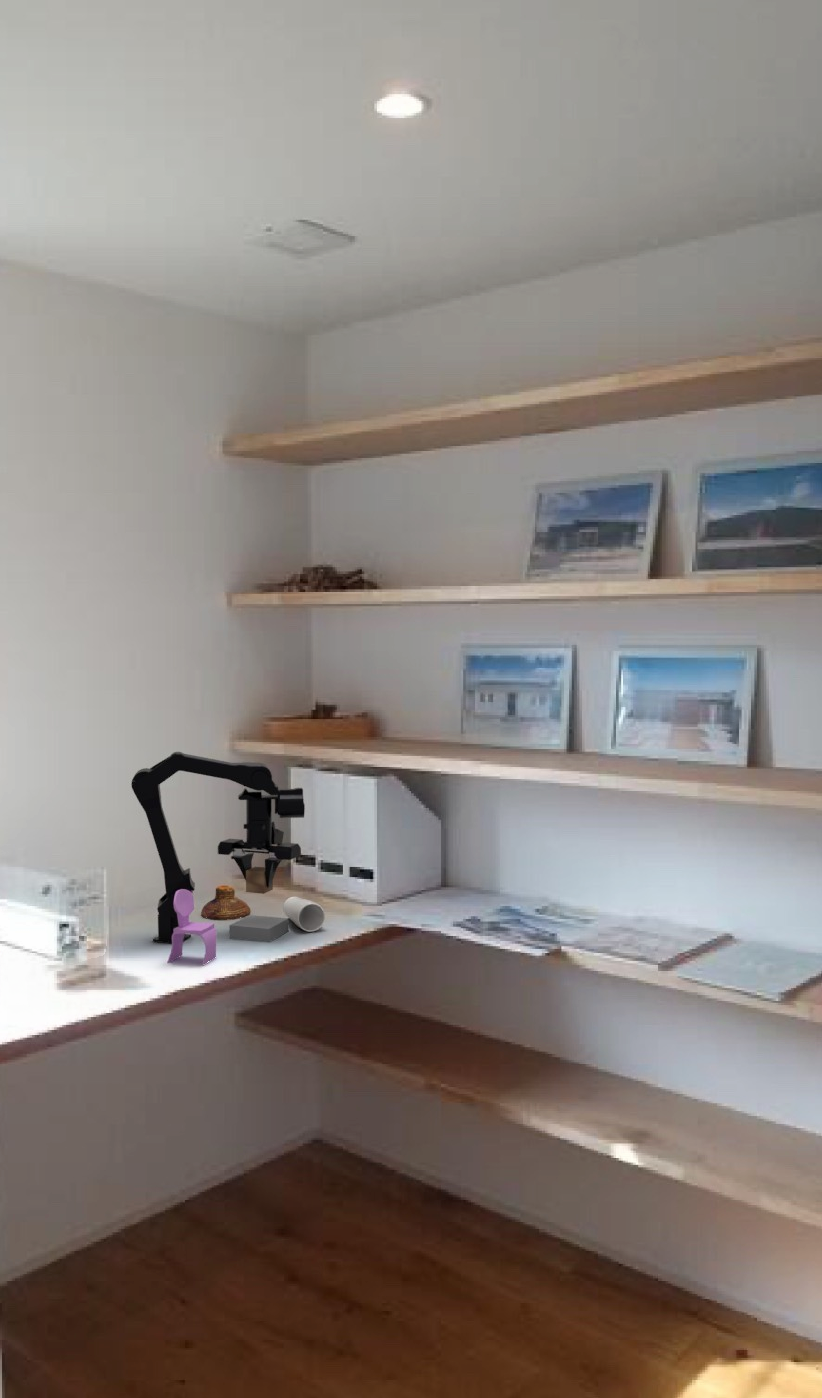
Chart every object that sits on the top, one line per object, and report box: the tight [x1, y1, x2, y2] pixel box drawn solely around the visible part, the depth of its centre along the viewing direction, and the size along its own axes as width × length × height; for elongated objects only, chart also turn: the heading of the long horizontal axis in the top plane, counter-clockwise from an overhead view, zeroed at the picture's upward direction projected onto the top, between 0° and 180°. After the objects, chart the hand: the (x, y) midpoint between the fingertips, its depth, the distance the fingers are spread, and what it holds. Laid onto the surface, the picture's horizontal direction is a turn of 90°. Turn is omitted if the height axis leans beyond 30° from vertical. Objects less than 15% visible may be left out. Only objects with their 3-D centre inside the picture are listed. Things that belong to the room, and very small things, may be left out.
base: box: [228, 914, 290, 943], centre depth 269 cm, size 10×10×3 cm
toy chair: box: [166, 889, 218, 965], centre depth 248 cm, size 8×9×15 cm
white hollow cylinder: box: [282, 896, 326, 933], centre depth 277 cm, size 7×7×15 cm
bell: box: [200, 884, 251, 921], centre depth 288 cm, size 12×12×7 cm
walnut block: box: [245, 866, 274, 894], centre depth 268 cm, size 4×4×5 cm
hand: (259, 886), depth 268 cm, fingers closed on walnut block, 4 cm apart
